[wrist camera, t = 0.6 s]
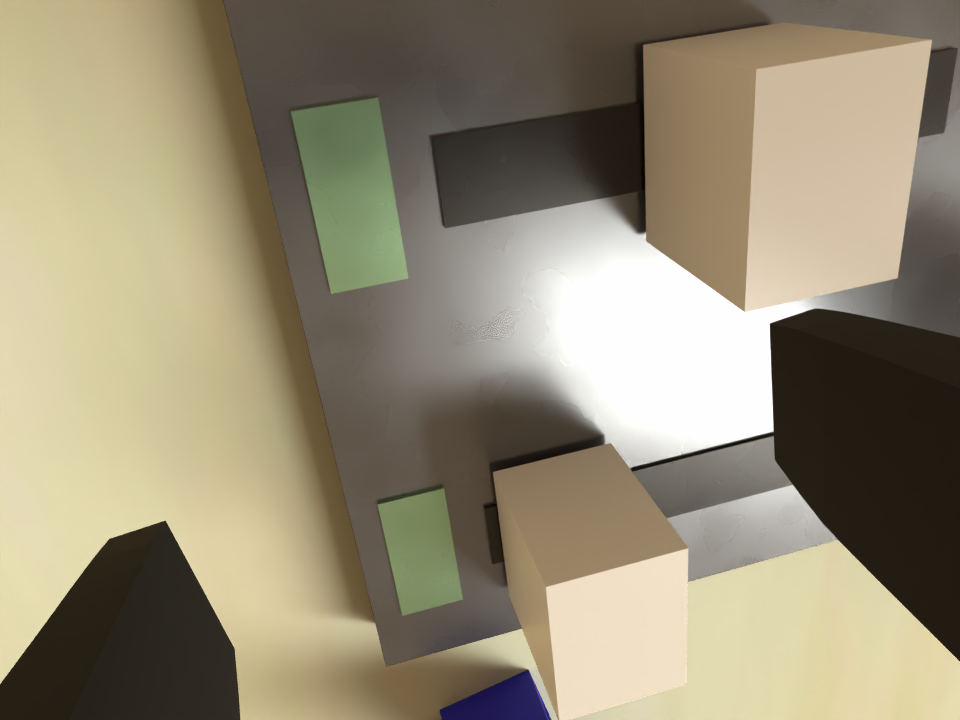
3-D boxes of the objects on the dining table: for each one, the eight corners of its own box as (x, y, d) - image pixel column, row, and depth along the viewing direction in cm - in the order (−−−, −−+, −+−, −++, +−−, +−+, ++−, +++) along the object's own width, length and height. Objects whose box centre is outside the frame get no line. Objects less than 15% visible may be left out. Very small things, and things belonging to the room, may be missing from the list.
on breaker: (611, 442, 19) (688, 547, 16) (616, 566, 21) (686, 684, 18) (493, 471, 19) (545, 587, 15) (509, 595, 21) (559, 723, 17)
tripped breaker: (783, 22, 16) (932, 39, 12) (771, 216, 18) (897, 278, 14) (643, 44, 15) (756, 69, 12) (646, 241, 17) (744, 312, 14)
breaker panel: (1079, -271, 16) (1155, -293, 15) (934, 474, 25) (974, 504, 24) (183, -182, 13) (173, -199, 12) (378, 625, 22) (386, 669, 21)
